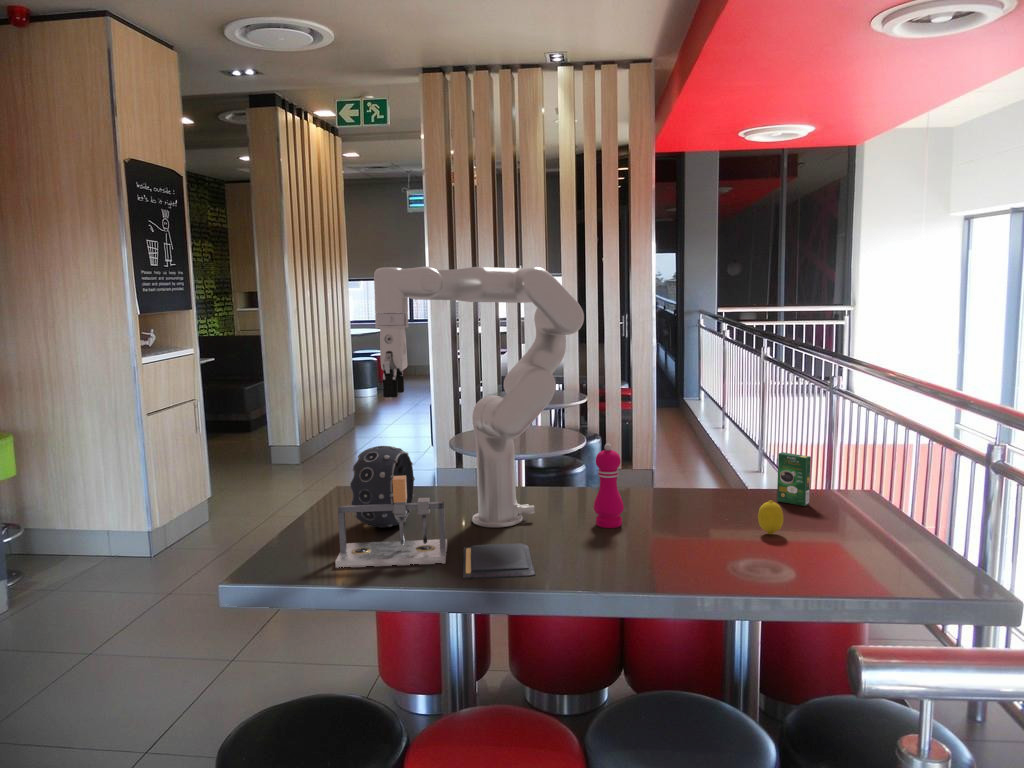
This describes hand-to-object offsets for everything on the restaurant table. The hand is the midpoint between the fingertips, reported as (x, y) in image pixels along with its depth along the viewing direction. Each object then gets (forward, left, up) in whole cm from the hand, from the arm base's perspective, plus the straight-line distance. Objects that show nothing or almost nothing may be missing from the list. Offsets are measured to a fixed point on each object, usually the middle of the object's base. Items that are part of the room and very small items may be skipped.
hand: (394, 394), depth 179 cm
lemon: (-86, +11, -34) cm, 93 cm away
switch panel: (0, +15, -34) cm, 37 cm away
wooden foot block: (-2, +15, -31) cm, 35 cm away
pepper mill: (-51, -2, -34) cm, 61 cm away
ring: (+4, -9, -34) cm, 35 cm away
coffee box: (-102, -14, -34) cm, 108 cm away
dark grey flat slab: (-23, +21, -35) cm, 46 cm away
